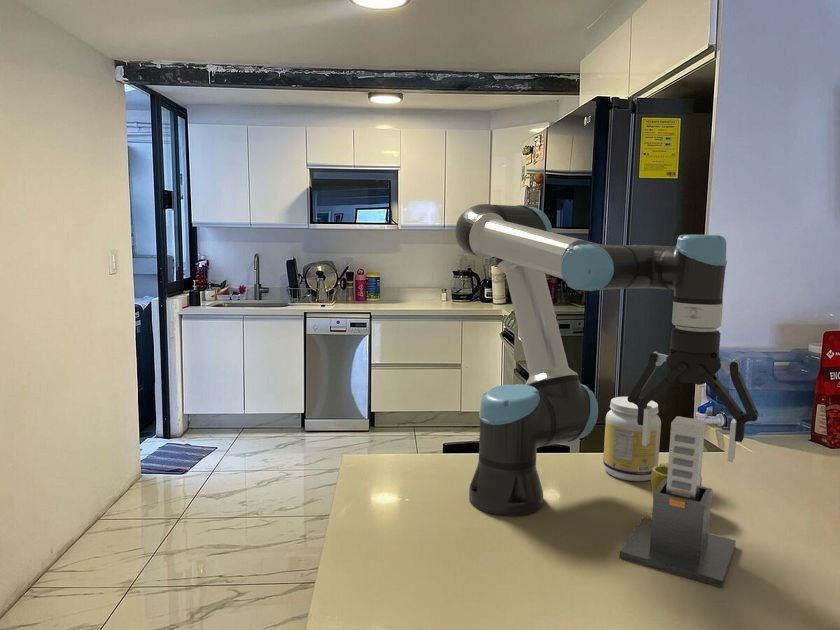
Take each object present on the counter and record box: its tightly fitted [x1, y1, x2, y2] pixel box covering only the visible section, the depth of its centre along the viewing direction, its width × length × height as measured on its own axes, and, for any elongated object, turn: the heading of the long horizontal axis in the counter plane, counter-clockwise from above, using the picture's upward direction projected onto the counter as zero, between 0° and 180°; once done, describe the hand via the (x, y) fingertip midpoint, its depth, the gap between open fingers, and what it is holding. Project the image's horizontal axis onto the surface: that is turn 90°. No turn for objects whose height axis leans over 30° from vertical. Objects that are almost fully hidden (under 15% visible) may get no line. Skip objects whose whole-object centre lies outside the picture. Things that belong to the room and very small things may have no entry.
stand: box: [619, 478, 736, 589], centre depth 109 cm, size 16×16×11 cm
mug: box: [650, 462, 703, 496], centre depth 128 cm, size 12×10×10 cm
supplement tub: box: [602, 396, 662, 482], centre depth 145 cm, size 12×12×17 cm
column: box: [666, 415, 706, 502], centre depth 107 cm, size 5×5×22 cm
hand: (687, 451), depth 107 cm, fingers open, 13 cm apart
